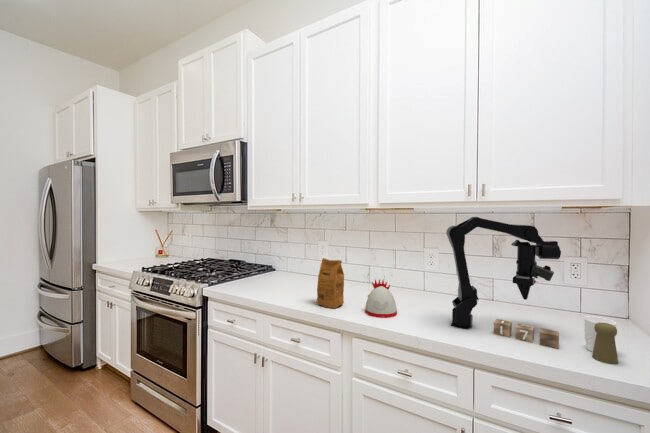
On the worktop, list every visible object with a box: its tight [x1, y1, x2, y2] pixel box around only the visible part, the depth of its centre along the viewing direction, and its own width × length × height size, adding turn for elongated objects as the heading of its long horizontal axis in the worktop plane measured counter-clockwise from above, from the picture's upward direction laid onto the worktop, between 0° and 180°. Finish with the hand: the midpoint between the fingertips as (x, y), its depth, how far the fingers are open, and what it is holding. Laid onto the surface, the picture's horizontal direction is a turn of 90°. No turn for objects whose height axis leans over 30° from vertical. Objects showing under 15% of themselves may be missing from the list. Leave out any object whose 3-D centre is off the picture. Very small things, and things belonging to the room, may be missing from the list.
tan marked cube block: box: [514, 322, 535, 344], centre depth 109 cm, size 5×5×5 cm
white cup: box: [583, 315, 617, 353], centre depth 101 cm, size 8×8×10 cm
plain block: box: [539, 327, 560, 350], centre depth 105 cm, size 5×5×4 cm
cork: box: [591, 322, 619, 365], centre depth 94 cm, size 6×6×11 cm
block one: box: [493, 318, 513, 339], centre depth 114 cm, size 5×5×5 cm
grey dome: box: [364, 278, 398, 319], centre depth 137 cm, size 14×14×15 cm
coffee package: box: [316, 257, 345, 309], centre depth 147 cm, size 10×12×22 cm
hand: (525, 299), depth 117 cm, fingers closed
